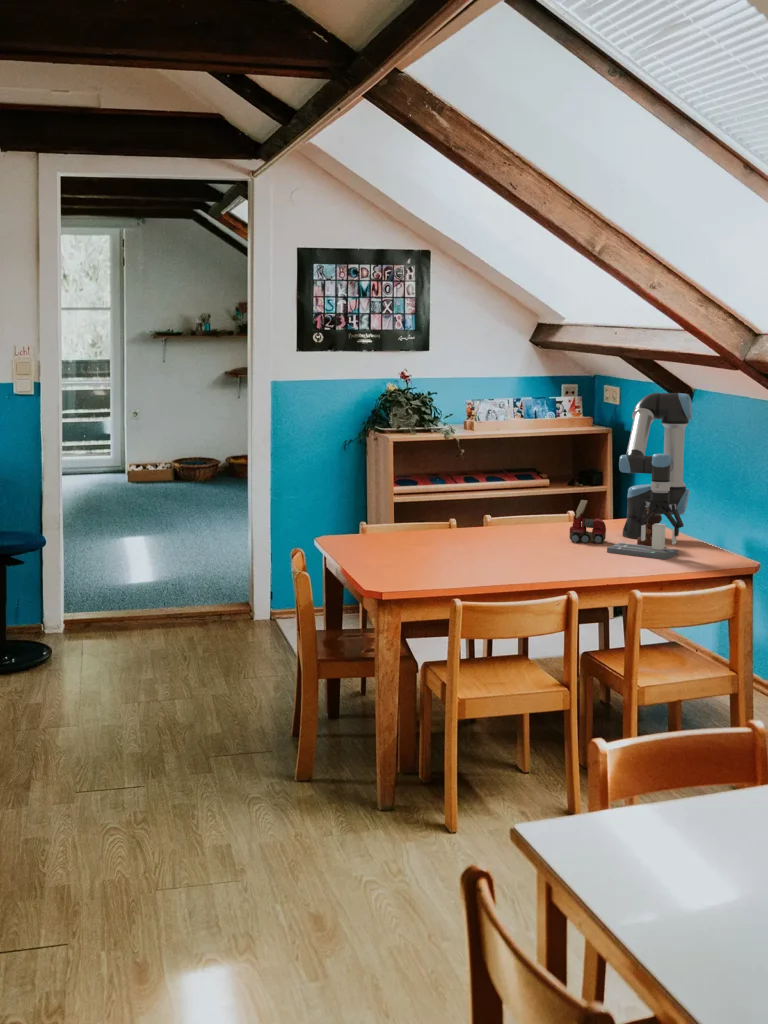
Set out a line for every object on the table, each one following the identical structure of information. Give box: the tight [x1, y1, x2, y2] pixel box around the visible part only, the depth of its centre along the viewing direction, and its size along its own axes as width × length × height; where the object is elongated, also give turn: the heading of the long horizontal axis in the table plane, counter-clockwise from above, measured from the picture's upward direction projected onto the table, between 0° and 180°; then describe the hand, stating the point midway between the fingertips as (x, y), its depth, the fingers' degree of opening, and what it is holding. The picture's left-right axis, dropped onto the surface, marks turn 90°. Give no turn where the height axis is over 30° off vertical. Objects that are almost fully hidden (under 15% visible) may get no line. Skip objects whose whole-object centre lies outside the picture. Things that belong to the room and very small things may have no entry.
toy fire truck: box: [569, 499, 607, 545], centre depth 493 cm, size 11×16×18 cm
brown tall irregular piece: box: [636, 505, 663, 546], centre depth 481 cm, size 15×11×20 cm
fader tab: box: [650, 523, 667, 551], centre depth 461 cm, size 5×5×11 cm
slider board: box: [606, 542, 679, 560], centre depth 467 cm, size 13×26×3 cm, turn 53°
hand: (658, 542), depth 462 cm, fingers open, 13 cm apart
